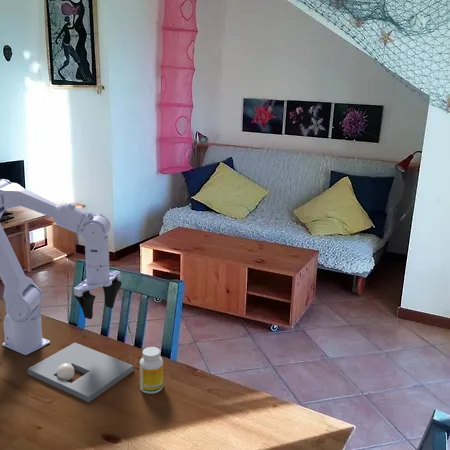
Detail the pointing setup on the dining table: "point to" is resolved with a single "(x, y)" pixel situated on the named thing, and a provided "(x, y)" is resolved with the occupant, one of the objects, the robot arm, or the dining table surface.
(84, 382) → the plate
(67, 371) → the ball
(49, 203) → the robot arm
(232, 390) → the dining table surface
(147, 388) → the supplement bottle
